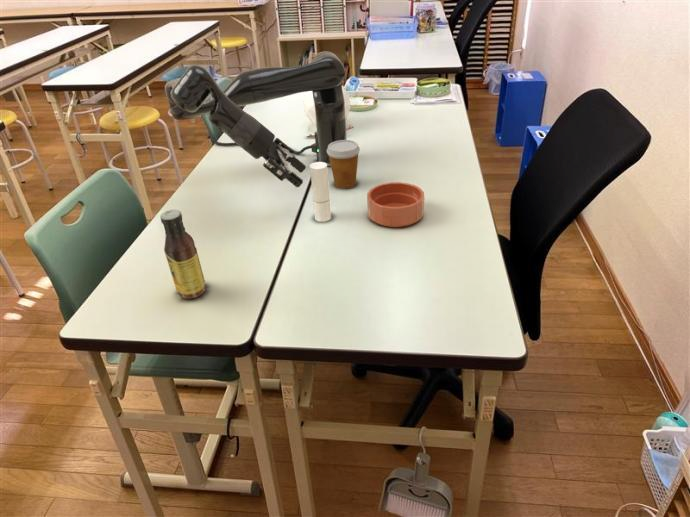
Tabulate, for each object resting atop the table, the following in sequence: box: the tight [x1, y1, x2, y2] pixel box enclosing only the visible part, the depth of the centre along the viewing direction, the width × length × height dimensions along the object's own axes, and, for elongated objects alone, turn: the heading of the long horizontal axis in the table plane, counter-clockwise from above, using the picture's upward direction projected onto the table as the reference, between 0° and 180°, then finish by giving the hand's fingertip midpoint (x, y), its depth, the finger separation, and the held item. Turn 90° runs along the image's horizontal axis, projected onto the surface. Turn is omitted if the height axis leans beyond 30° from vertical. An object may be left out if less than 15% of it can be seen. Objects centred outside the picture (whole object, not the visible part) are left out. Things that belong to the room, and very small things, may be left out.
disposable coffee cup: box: [327, 139, 361, 189], centre depth 151 cm, size 10×10×12 cm
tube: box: [309, 161, 332, 223], centre depth 134 cm, size 4×4×15 cm
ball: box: [303, 85, 354, 138], centre depth 186 cm, size 17×25×24 cm
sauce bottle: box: [159, 208, 206, 300], centre depth 108 cm, size 6×6×20 cm
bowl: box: [366, 181, 425, 228], centre depth 135 cm, size 15×15×6 cm
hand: (302, 177), depth 131 cm, fingers open, 8 cm apart
